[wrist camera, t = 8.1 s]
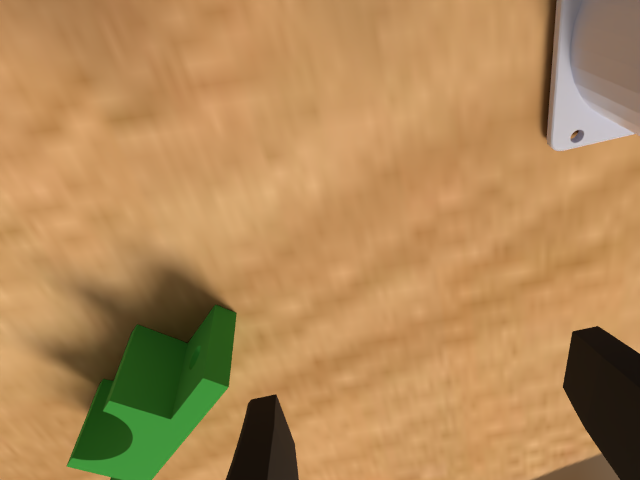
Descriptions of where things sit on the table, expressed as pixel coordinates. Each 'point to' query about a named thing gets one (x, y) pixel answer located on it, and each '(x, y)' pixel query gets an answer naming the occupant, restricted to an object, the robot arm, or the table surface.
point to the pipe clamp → (155, 399)
